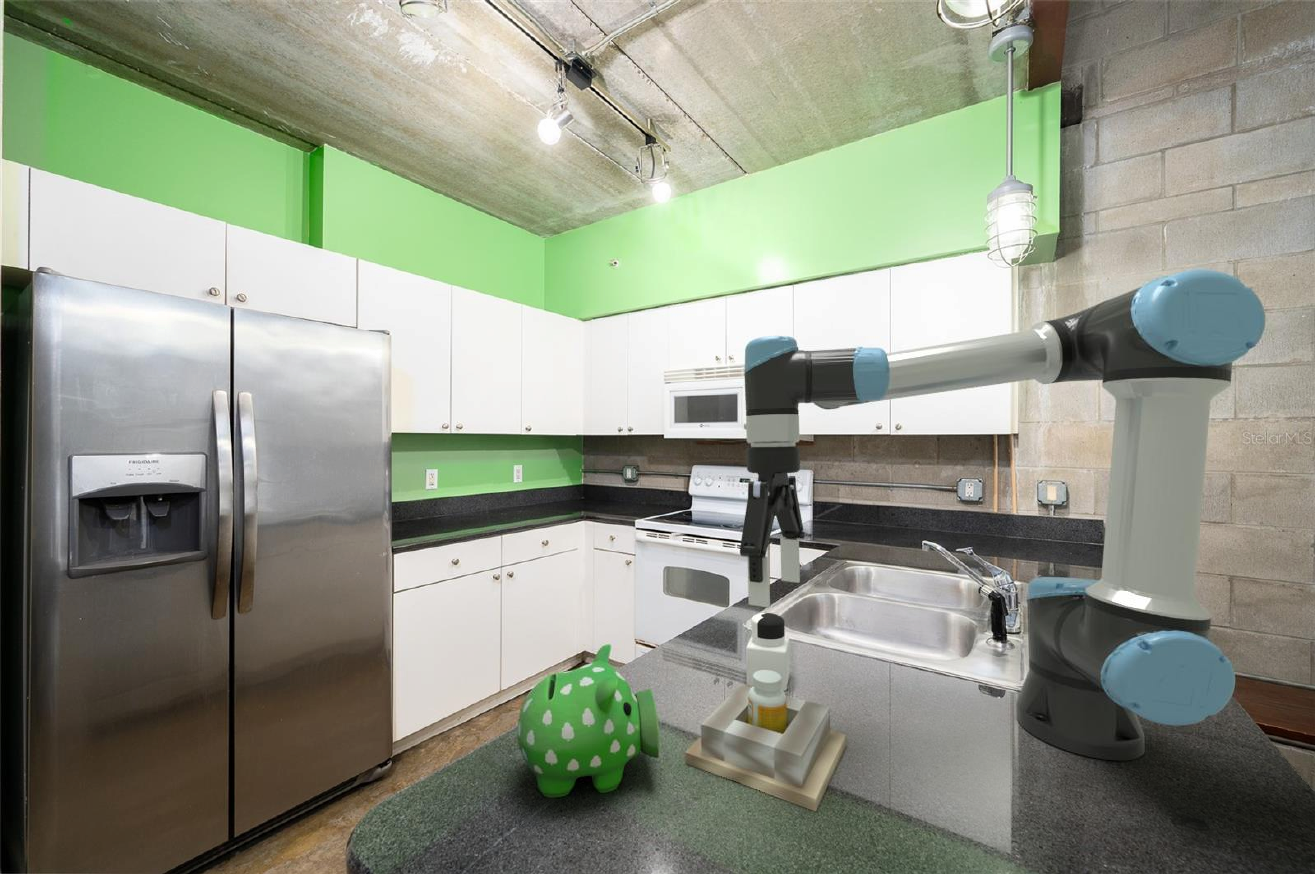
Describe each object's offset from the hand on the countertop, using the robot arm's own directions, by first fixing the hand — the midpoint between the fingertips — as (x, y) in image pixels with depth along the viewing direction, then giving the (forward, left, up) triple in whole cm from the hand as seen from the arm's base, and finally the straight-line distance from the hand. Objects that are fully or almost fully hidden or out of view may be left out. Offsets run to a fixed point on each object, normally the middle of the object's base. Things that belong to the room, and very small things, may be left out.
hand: (776, 592), depth 75 cm
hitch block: (+1, +1, -23) cm, 23 cm away
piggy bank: (+20, +18, -23) cm, 36 cm away
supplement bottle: (+1, +1, -21) cm, 21 cm away
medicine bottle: (+9, -21, -23) cm, 32 cm away
